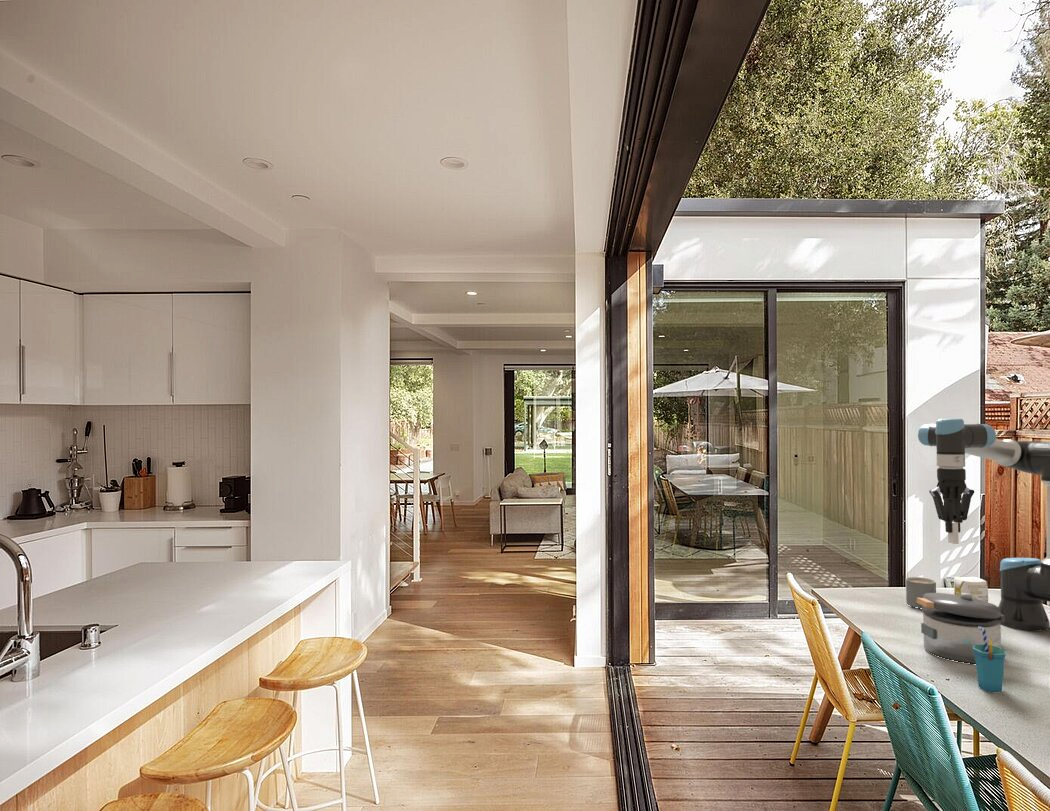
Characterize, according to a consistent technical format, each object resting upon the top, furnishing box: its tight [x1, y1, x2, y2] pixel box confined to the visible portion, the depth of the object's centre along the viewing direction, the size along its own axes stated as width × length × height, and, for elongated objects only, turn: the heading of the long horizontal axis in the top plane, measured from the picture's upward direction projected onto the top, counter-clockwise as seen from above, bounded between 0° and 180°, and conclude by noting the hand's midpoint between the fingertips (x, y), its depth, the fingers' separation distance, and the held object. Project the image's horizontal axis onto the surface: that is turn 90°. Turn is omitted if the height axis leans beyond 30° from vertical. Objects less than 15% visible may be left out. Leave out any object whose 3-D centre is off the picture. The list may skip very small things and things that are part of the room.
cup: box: [973, 626, 1007, 693], centre depth 176 cm, size 14×8×15 cm, turn 160°
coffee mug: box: [905, 576, 937, 608], centre depth 251 cm, size 13×10×10 cm
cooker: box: [920, 606, 1005, 665], centre depth 201 cm, size 22×21×12 cm
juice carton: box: [953, 576, 989, 603], centre depth 217 cm, size 8×9×19 cm
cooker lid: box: [917, 592, 1001, 619], centre depth 201 cm, size 22×20×4 cm
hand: (953, 542), depth 202 cm, fingers closed
